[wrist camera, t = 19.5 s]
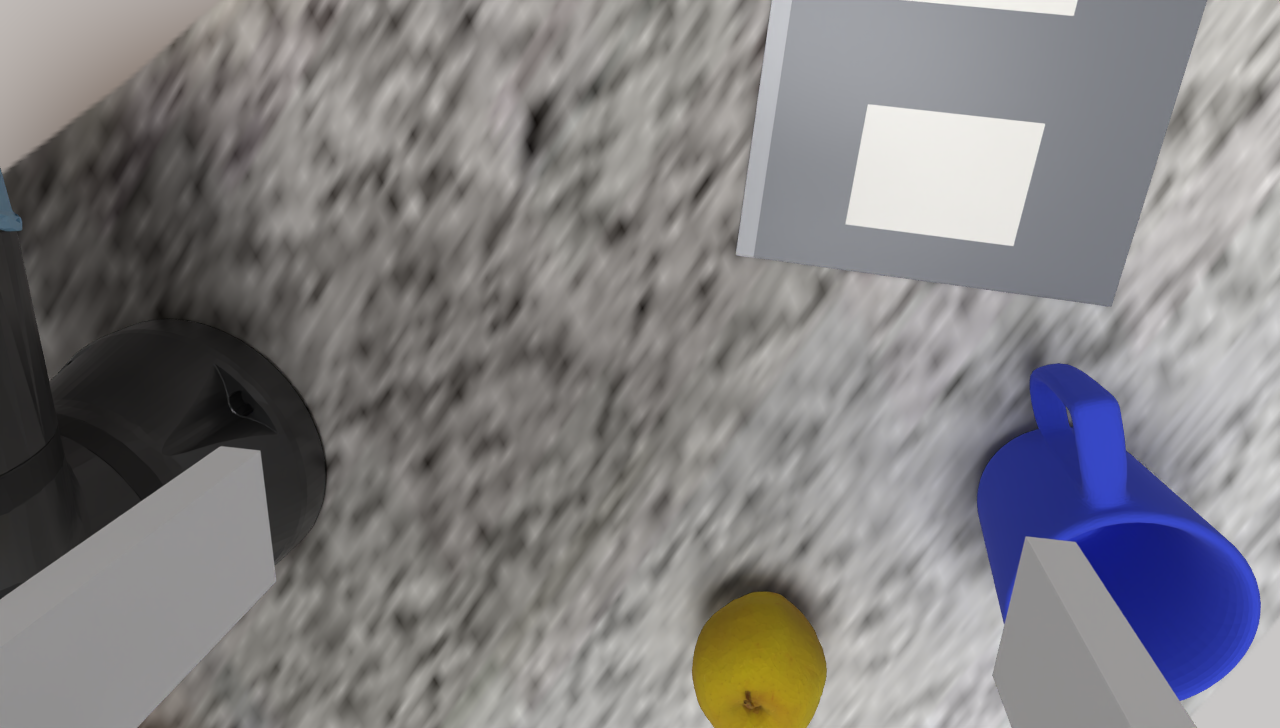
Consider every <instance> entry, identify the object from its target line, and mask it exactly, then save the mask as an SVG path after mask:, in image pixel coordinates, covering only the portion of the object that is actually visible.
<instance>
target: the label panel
mask: <svg viewBox="0 0 1280 728" xmlns="http://www.w3.org/2000/svg"><path fill="white" fill-rule="evenodd" d="M1206 2H1207V0H772V3H771V10H770V17H769V24H768V32H767V39H766V46H765V53H764V60H763V67H762V74H761V81H760V88H759V95H758V102H757V109H756V116H755V123H754V130H753V137H752V144H751V151H750V158H749V165H748V172H747V179H746V186H745V193H744V200H743V207H742V214H741V221H740V228H739V235H738V242H737V250H736V255H738V256H745V257H752V258H760V259H768V260H775V261H782V262H790V263H797V264H804V265H811V266H819V267H826V268H833V269H841V270H848V271H855V272H862V273H870V274H877V275H884V276H892V277H899V278H906V279H914V280H921V281H928V282H935V283H943V284H950V285H957V286H965V287H972V288H979V289H986V290H994V291H1001V292H1008V293H1016V294H1023V295H1030V296H1038V297H1045V298H1052V299H1059V300H1067V301H1074V302H1081V303H1089V304H1096V305H1103V306H1110V307H1111V306H1112V303H1113V300H1114V297H1115V293H1116V290H1117V287H1118V284H1119V281H1120V277H1121V274H1122V271H1123V268H1124V265H1125V261H1126V258H1127V255H1128V252H1129V249H1130V245H1131V242H1132V239H1133V236H1134V233H1135V229H1136V226H1137V223H1138V220H1139V217H1140V213H1141V210H1142V207H1143V204H1144V201H1145V197H1146V194H1147V191H1148V188H1149V185H1150V181H1151V178H1152V175H1153V172H1154V169H1155V165H1156V162H1157V159H1158V156H1159V153H1160V149H1161V146H1162V143H1163V140H1164V137H1165V133H1166V130H1167V127H1168V124H1169V121H1170V117H1171V114H1172V111H1173V108H1174V105H1175V101H1176V98H1177V95H1178V92H1179V89H1180V85H1181V82H1182V79H1183V76H1184V73H1185V69H1186V66H1187V63H1188V60H1189V57H1190V53H1191V50H1192V47H1193V44H1194V41H1195V37H1196V34H1197V31H1198V28H1199V25H1200V21H1201V18H1202V15H1203V12H1204V9H1205V6H1206Z"/></svg>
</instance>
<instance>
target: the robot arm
mask: <svg viewBox="0 0 1280 728" xmlns="http://www.w3.org/2000/svg"><path fill="white" fill-rule="evenodd" d="M17 231H22V220H21V217H19V216H18V215H17V214H16V213H14V212H13V211H12V208H11V205H10V201H9V197H8V194H7V190H6V186H5V183H4V179H3V176H2V172H1V168H0V728H137V727H138V726H139V725H140V724H141V723H142V722H143V721H144V720H145V719H146V718H147V717H148V716H149V714H150V713H151V712H152V711H153V710H154V709H155V708H156V707H157V706H158V705H159V704H160V703H161V702H162V701H163V700H164V699H165V698H166V697H167V696H168V695H169V693H170V692H171V691H172V690H173V689H174V688H175V687H176V686H177V685H178V684H179V683H180V682H181V681H182V680H183V679H184V678H185V677H186V676H187V675H188V674H189V672H190V671H191V670H192V669H193V668H194V667H195V666H196V665H197V664H198V663H199V662H200V661H201V660H202V659H203V658H204V657H205V656H206V655H207V654H208V653H209V651H210V650H211V649H212V648H213V647H214V646H215V645H216V644H217V643H218V642H219V641H220V640H221V639H222V638H223V637H224V636H225V635H226V634H227V633H228V631H229V630H230V629H231V628H232V627H233V626H234V625H235V624H236V623H237V622H238V621H239V620H240V619H241V618H242V617H243V616H244V615H245V614H246V613H247V612H248V610H249V609H250V608H251V607H252V606H253V605H254V604H255V603H256V602H257V601H258V600H259V599H260V598H261V597H262V596H263V595H264V594H265V593H266V592H267V591H268V589H269V588H270V587H271V586H272V585H273V584H274V583H275V582H276V574H275V566H274V565H276V564H277V563H278V562H279V561H280V560H281V559H282V558H284V557H285V556H286V555H287V554H288V553H289V552H290V551H291V550H292V549H293V548H294V547H295V546H296V545H297V544H298V543H299V542H301V541H302V539H303V538H304V537H305V536H306V535H307V533H308V532H309V531H310V529H311V528H312V526H313V524H314V523H315V521H316V519H317V516H318V514H319V511H320V509H321V505H322V502H323V497H324V491H325V462H324V456H323V451H322V447H321V443H320V439H319V436H318V433H317V431H316V428H315V425H314V423H313V421H312V419H311V416H310V414H309V413H308V411H307V409H306V407H305V405H304V404H303V402H302V400H301V399H300V397H299V396H298V394H297V393H296V391H295V390H294V389H293V387H292V386H291V385H290V384H289V382H288V381H287V380H286V379H285V378H284V376H283V375H282V374H281V373H280V372H279V371H278V370H277V369H276V368H275V367H274V366H273V365H272V364H271V363H270V362H269V361H267V360H266V359H265V358H264V357H263V356H262V355H260V354H259V353H258V352H256V351H255V350H254V349H252V348H251V347H249V346H248V345H246V344H245V343H243V342H242V341H240V340H238V339H236V338H235V337H233V336H231V335H229V334H227V333H225V332H222V331H220V330H218V329H215V328H212V327H209V326H206V325H203V324H199V323H195V322H190V321H184V320H173V319H163V320H152V321H146V322H142V323H138V324H135V325H132V326H130V327H127V328H124V329H122V330H119V331H117V332H114V333H112V334H109V335H107V336H104V337H102V338H100V339H98V340H96V341H94V342H92V343H90V344H89V345H87V346H86V347H84V348H83V349H81V350H80V351H79V352H78V353H76V354H75V355H74V356H73V357H72V358H71V359H70V360H69V361H68V362H67V364H66V365H65V366H64V367H63V368H62V369H61V371H60V372H59V373H58V374H57V375H56V376H55V377H54V378H53V379H51V380H50V381H49V379H48V374H47V369H46V365H45V360H44V355H43V351H42V346H41V341H40V337H39V332H38V327H37V323H36V318H35V313H34V309H33V304H32V299H31V295H30V290H29V285H28V281H27V276H26V271H25V267H24V262H23V257H22V253H21V248H20V243H19V239H18V234H17ZM992 676H993V678H994V681H995V684H996V686H997V689H998V692H999V695H1000V697H1001V700H1002V703H1003V705H1004V708H1005V711H1006V713H1007V716H1008V719H1009V721H1010V724H1011V727H1012V728H1197V727H1196V725H1195V724H1194V722H1193V721H1192V719H1191V718H1190V716H1189V715H1188V713H1187V712H1186V710H1185V709H1184V707H1183V705H1182V704H1181V702H1180V701H1179V699H1178V698H1177V696H1176V695H1175V693H1174V692H1173V690H1172V689H1171V687H1170V686H1169V684H1168V682H1167V681H1166V679H1165V678H1164V676H1163V675H1162V673H1161V672H1160V670H1159V669H1158V667H1157V666H1156V664H1155V663H1154V661H1153V659H1152V658H1151V656H1150V655H1149V653H1148V652H1147V650H1146V649H1145V647H1144V646H1143V644H1142V643H1141V641H1140V640H1139V638H1138V637H1137V635H1136V633H1135V632H1134V630H1133V629H1132V627H1131V626H1130V624H1129V623H1128V621H1127V620H1126V618H1125V617H1124V615H1123V614H1122V612H1121V610H1120V609H1119V607H1118V606H1117V604H1116V603H1115V601H1114V600H1113V598H1112V597H1111V595H1110V594H1109V592H1108V591H1107V589H1106V587H1105V586H1104V584H1103V583H1102V581H1101V580H1100V578H1099V577H1098V575H1097V574H1096V572H1095V571H1094V569H1093V568H1092V566H1091V565H1090V563H1089V561H1088V560H1087V558H1086V557H1085V555H1084V554H1083V552H1082V551H1081V549H1080V548H1079V546H1078V545H1077V543H1076V542H1072V541H1063V540H1054V539H1045V538H1036V537H1027V536H1026V537H1025V541H1024V545H1023V549H1022V554H1021V558H1020V562H1019V566H1018V570H1017V574H1016V579H1015V583H1014V587H1013V591H1012V595H1011V600H1010V604H1009V608H1008V612H1007V616H1006V620H1005V625H1004V629H1003V633H1002V637H1001V641H1000V645H999V650H998V654H997V658H996V662H995V666H994V671H993V675H992Z"/></svg>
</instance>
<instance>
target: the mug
mask: <svg viewBox="0 0 1280 728" xmlns="http://www.w3.org/2000/svg"><path fill="white" fill-rule="evenodd" d="M1030 395H1031V402H1032V407H1033V411H1034V416H1035V419H1036V422H1037V425H1038V428H1039V429H1037V430H1034V431H1030V432H1027V433H1025V434H1022V435H1020V436H1018V437H1016V438H1015V439H1013V440H1011V441H1010V442H1008V443H1007V444H1005V445H1004V446H1003V447H1002V448H1001V449H1000V450H999V451H998V452H996V453H995V455H994V456H993V457H992V458H991V460H990V461H989V462H988V464H987V466H986V467H985V469H984V472H983V474H982V476H981V479H980V483H979V487H978V494H977V508H978V515H979V519H980V524H981V528H982V532H983V536H984V541H985V545H986V549H987V553H988V558H989V562H990V566H991V571H992V575H993V579H994V583H995V588H996V592H997V596H998V600H999V605H1000V609H1001V613H1002V617H1003V622H1004V625H1005V620H1006V616H1007V612H1008V608H1009V604H1010V600H1011V595H1012V591H1013V587H1014V583H1015V579H1016V574H1017V570H1018V566H1019V562H1020V558H1021V554H1022V549H1023V545H1024V541H1025V537H1026V536H1027V537H1036V538H1045V539H1054V540H1063V541H1072V542H1076V543H1077V545H1078V546H1079V548H1080V549H1081V551H1082V552H1083V554H1084V555H1085V557H1086V558H1087V560H1088V561H1089V563H1090V565H1091V566H1092V568H1093V569H1094V571H1095V572H1096V574H1097V575H1098V577H1099V578H1100V580H1101V581H1102V583H1103V584H1104V586H1105V587H1106V589H1107V591H1108V592H1109V594H1110V595H1111V597H1112V598H1113V600H1114V601H1115V603H1116V604H1117V606H1118V607H1119V609H1120V610H1121V612H1122V614H1123V615H1124V617H1125V618H1126V620H1127V621H1128V623H1129V624H1130V626H1131V627H1132V629H1133V630H1134V632H1135V633H1136V635H1137V637H1138V638H1139V640H1140V641H1141V643H1142V644H1143V646H1144V647H1145V649H1146V650H1147V652H1148V653H1149V655H1150V656H1151V658H1152V659H1153V661H1154V663H1155V664H1156V666H1157V667H1158V669H1159V670H1160V672H1161V673H1162V675H1163V676H1164V678H1165V679H1166V681H1167V682H1168V684H1169V686H1170V687H1171V689H1172V690H1173V692H1174V693H1175V695H1176V696H1177V698H1178V699H1179V701H1181V700H1184V699H1187V698H1189V697H1191V696H1194V695H1196V694H1198V693H1200V692H1202V691H1204V690H1206V689H1207V688H1209V687H1211V686H1212V685H1214V684H1215V683H1216V682H1218V681H1219V680H1221V679H1222V678H1223V677H1224V676H1226V675H1227V674H1228V673H1229V672H1230V671H1231V670H1232V669H1233V668H1234V667H1235V666H1236V665H1237V664H1238V662H1239V661H1240V660H1241V659H1242V658H1243V656H1244V655H1245V653H1246V652H1247V650H1248V649H1249V647H1250V645H1251V643H1252V641H1253V639H1254V637H1255V634H1256V631H1257V628H1258V624H1259V619H1260V608H1261V602H1260V594H1259V589H1258V585H1257V581H1256V578H1255V576H1254V574H1253V572H1252V570H1251V568H1250V566H1249V564H1248V563H1247V561H1246V559H1245V558H1244V557H1243V556H1242V554H1241V553H1240V552H1239V551H1238V550H1237V548H1236V547H1235V546H1234V545H1233V544H1232V543H1230V542H1229V541H1228V540H1227V539H1226V538H1225V537H1224V536H1223V535H1221V534H1220V533H1219V532H1218V531H1217V530H1216V529H1215V528H1213V527H1212V526H1211V525H1210V524H1209V523H1208V522H1207V521H1206V520H1204V519H1203V518H1202V517H1201V516H1200V515H1199V514H1198V513H1196V512H1195V511H1194V510H1193V509H1192V508H1191V507H1190V506H1188V505H1187V504H1186V503H1185V502H1184V501H1183V500H1182V499H1181V498H1179V497H1178V496H1177V495H1176V494H1175V493H1174V492H1173V491H1171V490H1170V489H1169V488H1168V487H1167V486H1166V485H1165V484H1164V483H1162V482H1161V481H1160V480H1159V479H1158V478H1157V477H1156V476H1154V475H1153V474H1152V473H1151V472H1150V471H1149V470H1148V469H1147V468H1145V467H1144V466H1143V465H1142V464H1141V463H1140V462H1139V461H1137V460H1136V459H1135V458H1134V457H1133V456H1132V455H1131V454H1130V453H1128V452H1127V451H1126V448H1125V438H1124V430H1123V424H1122V418H1121V412H1120V407H1119V404H1118V402H1117V400H1116V399H1115V397H1114V396H1112V395H1111V394H1110V393H1109V392H1108V391H1107V390H1106V389H1104V388H1103V387H1102V386H1101V385H1100V384H1098V383H1097V382H1096V381H1095V380H1093V379H1092V378H1091V377H1089V376H1088V375H1087V374H1085V373H1084V372H1082V371H1081V370H1079V369H1077V368H1075V367H1073V366H1071V365H1068V364H1060V363H1058V364H1050V365H1045V366H1042V367H1039V368H1037V369H1035V370H1034V371H1033V372H1032V374H1031V376H1030ZM1066 407H1067V408H1068V410H1069V412H1070V414H1071V418H1072V422H1073V427H1070V426H1069V422H1068V417H1067V412H1066Z"/></svg>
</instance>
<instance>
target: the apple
mask: <svg viewBox="0 0 1280 728" xmlns="http://www.w3.org/2000/svg"><path fill="white" fill-rule="evenodd" d="M826 674H827V668H826V661H825V656H824V652H823V649H822V646H821V644H820V642H819V640H818V638H817V635H816V632H815V631H814V629H813V627H812V626H811V624H810V623H809V622H808V620H807V619H806V618H805V616H804V615H803V614H802V613H801V612H800V611H799V610H798V609H797V608H796V607H795V606H794V605H793V604H792V603H791V602H789V601H788V600H787V599H786V598H784V597H783V596H782V595H780V594H778V593H773V592H753V593H749V594H747V595H744V596H742V597H740V598H738V599H735V600H733V601H731V602H730V603H728V604H727V605H726V606H725V607H723V608H722V609H720V610H719V611H717V612H716V613H715V614H714V615H713V616H712V617H711V618H710V619H709V620H708V621H707V622H706V624H705V625H704V627H703V629H702V630H701V633H700V635H699V637H698V640H697V643H696V646H695V651H694V657H693V666H692V678H693V683H694V688H695V692H696V696H697V700H698V703H699V705H700V707H701V709H702V711H703V712H704V714H705V716H706V717H707V718H708V720H709V721H710V722H711V724H712V725H713V727H714V728H806V727H807V726H808V725H809V723H810V721H811V720H812V718H813V716H814V714H815V711H816V709H817V707H818V704H819V702H820V697H821V695H822V692H823V688H824V685H825V681H826Z"/></svg>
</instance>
